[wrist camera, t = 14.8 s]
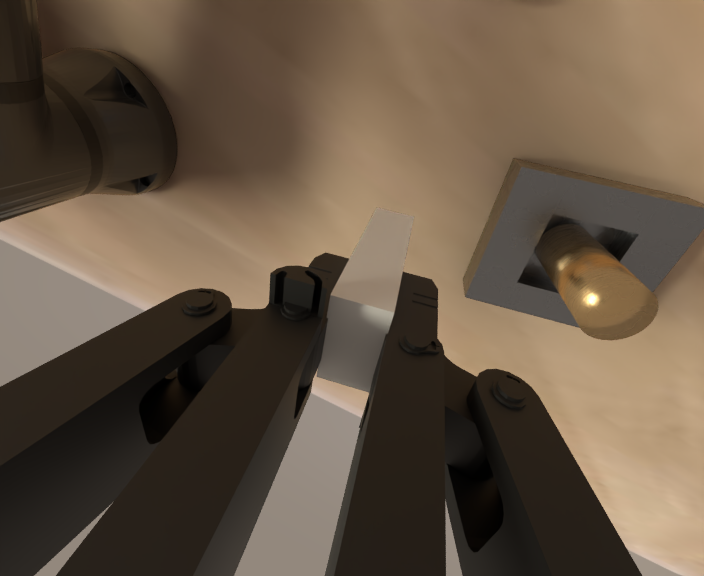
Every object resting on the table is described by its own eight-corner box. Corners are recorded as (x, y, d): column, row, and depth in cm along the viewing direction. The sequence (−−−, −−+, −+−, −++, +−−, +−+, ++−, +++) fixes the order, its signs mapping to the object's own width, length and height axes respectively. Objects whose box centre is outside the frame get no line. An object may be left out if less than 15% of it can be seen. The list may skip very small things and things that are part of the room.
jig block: (462, 279, 40) (464, 297, 37) (513, 158, 33) (521, 166, 29) (601, 315, 39) (616, 337, 35) (687, 197, 31) (717, 211, 28)
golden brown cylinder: (528, 263, 36) (565, 331, 26) (548, 219, 34) (598, 276, 24) (576, 273, 36) (632, 346, 26) (600, 229, 33) (674, 292, 23)
